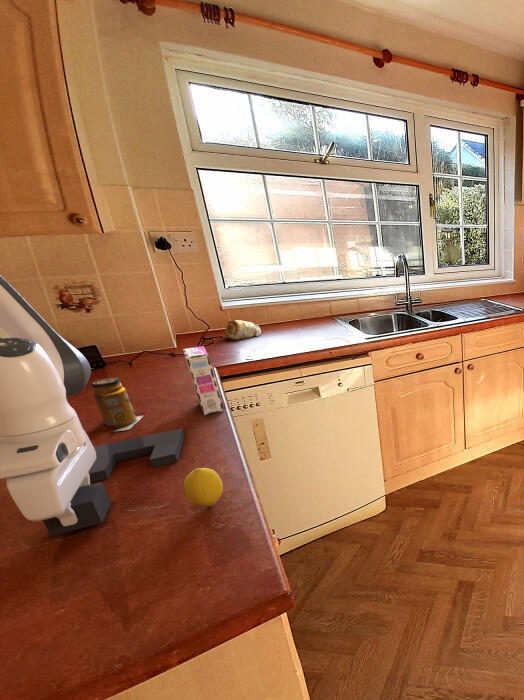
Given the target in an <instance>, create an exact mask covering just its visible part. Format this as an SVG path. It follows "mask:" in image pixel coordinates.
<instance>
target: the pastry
mask: <svg viewBox="0 0 524 700" xmlns="http://www.w3.org/2000/svg"><path fill="white" fill-rule="evenodd" d="M224 334H225V335H224V338H225V339H227V340H228V339H229V340H243V339H249V338H254V337H260V335H261V334H262V330H261V327H260V325H256V324H255V323H253V322H252V321H251V322H250V321H245V320H241V319H237V320H236V319H233V320H229V321H228V322H227V325H226V326H225V329H224Z"/></svg>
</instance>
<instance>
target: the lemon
mask: <svg viewBox="0 0 524 700" xmlns="http://www.w3.org/2000/svg"><path fill="white" fill-rule="evenodd" d="M183 488H184V494H185V497H186V499H187V500H188V501H189V502H190V503H191V504H193V505H195V506H199V507H205V506H206V507H211V506H213V504H214V503H216V502H217V501H218V500H219V499H220V498H221V497H222V495H223V492H224V484H223V481H222V479H221V476H220V475H219V474H218V472H216V471H215V470H214V469H212V468H208V467H196V468H195V469H194V470H192V471H191V472H190V473H188V475H187V476H186V478H185V480H184V483H183Z"/></svg>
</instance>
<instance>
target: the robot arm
mask: <svg viewBox="0 0 524 700" xmlns="http://www.w3.org/2000/svg"><path fill="white" fill-rule="evenodd" d="M0 329H1V330H3V332H5V333H6V335H8V336H9V337H0V480H3V479H6V488H7V490H8V493H9V495H10V496H11V498H12V500H13V502H14V504H15V505H16V507H17V508H18V510H19V511H20V513H21V514H22V516H23V517H24V518H25V519H26V520H28V521H31V522H33V523H35V522H40V521H43V520H46V519H50V518H53V517H57V518H58V519H59V520H60V522H61V524H62V525H63V526H69V525H73V524H76V523H77V521H78V519H79V515H78V512H77V510H74V511H73V509H72V508H71V507H70V506H71V503H70V501H71V500H72V498H73V496H74V495H75V493H76V491H77V490H78V488H79V487H83V486H87V485H91V482H90V476H89V473H88V472H89V470H90V468H91V467H92V465H93V463H94V462H95V460H96V451H95V449H94V447H95V446H94V445H93V443H92V441H91V440H90V437H89V435H88V434H87V432H86V431H85V429H84V428H83V425H82V423H81V421H80V418H79V416H78V413H77V412H76V410H75V409H74V408H73V407H72V406H71V405H70V403H69V402H68V399H67V397H72V396H75V395H78V394H80V393H81V392H83V390H84V389H85V387H86V386H87V384H88V382H89V380H90V378H91V375H92V368H91V365H90V363H89V361H88V359H87V358H86V357H85V355H84V354H83V353H82V352H80V350H78V348H77V347H75V346H74V345H72V344H71V343H70V342H68V341H67V340H66V339H65V338H64V337H62V336H61V335H60V334H59V333H57V331H55V329H53V327H52V326H51V325H50V324H48V322H47V321H46V320H45V319H44V318H43V317H42V316H41V315H40V314H39V313H38V312H37V311H36V310H35V309H34V308H33V307H32V306H31V305H30V304H29V302H28V301H26V299H25V298H24V297H23V296H21V294H20V293H19V292H18V291H17V290H16V289H15V288H14V287H13V286H12V285H11V284H10V283H9V282H8V281H7V280H6V279H5V278H4V277H3V276H2V275H1V274H0Z"/></svg>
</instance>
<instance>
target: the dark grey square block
mask: <svg viewBox="0 0 524 700" xmlns="http://www.w3.org/2000/svg"><path fill="white" fill-rule="evenodd" d="M70 503H71V506H70V507H71V508H72V509H73V511H74V510H77V512H78V515H79V519H78V521H77V523H76V524H73V525H69V526H63V525H62V524H61V522H60V520H59V519H58V518H57V517H53V518H50V519H46V520H42V522H43V524H44V527H45V528H46V529H47V531H48V533H49V535H50V537H52V536H58V535H60V534H64V533H68V532H72V531H75V530H80V529H83V528H88V527H91V526H95V525H98V524H102V523H103V521H104V519H105V517H106V515H107V513H108V511H109V509H110V506H111V505H112V500H111V498H110V496H109V493H108V492H107V488H106V487H105V484H104V482H103V481H101V482H97V483H90V485H87V486H83V487H79V488H78V490H77V491H76V493H75V495H74V496H73V498H72V500H71V501H70Z"/></svg>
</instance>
